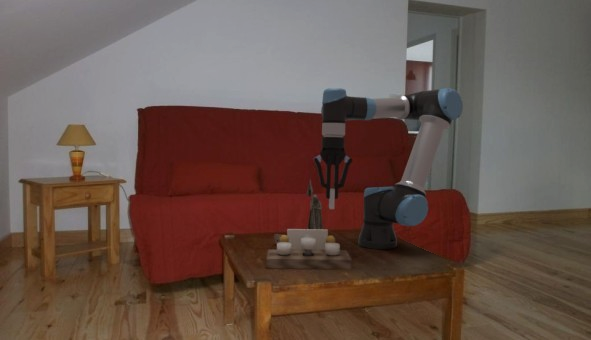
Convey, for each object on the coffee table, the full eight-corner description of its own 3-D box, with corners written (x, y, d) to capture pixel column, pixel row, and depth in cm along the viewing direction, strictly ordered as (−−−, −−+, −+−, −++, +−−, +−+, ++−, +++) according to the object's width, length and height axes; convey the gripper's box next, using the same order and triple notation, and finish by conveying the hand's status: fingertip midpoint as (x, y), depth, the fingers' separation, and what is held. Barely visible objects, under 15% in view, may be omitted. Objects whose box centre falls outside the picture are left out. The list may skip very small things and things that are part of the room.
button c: (291, 259, 144) (291, 242, 143) (291, 263, 139) (291, 245, 139) (276, 259, 144) (277, 242, 143) (276, 263, 139) (276, 245, 138)
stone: (284, 251, 158) (285, 237, 157) (272, 244, 168) (272, 231, 167) (305, 248, 162) (306, 236, 161) (292, 242, 172) (292, 230, 171)
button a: (338, 259, 144) (338, 242, 144) (340, 264, 139) (340, 246, 139) (324, 259, 144) (324, 242, 144) (325, 263, 139) (325, 246, 139)
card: (334, 258, 149) (335, 229, 148) (334, 258, 147) (335, 230, 147) (279, 257, 148) (279, 228, 147) (279, 258, 147) (279, 229, 146)
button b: (314, 254, 144) (315, 237, 143) (315, 258, 139) (316, 240, 139) (300, 254, 144) (300, 237, 143) (301, 258, 139) (301, 240, 138)
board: (345, 258, 148) (346, 250, 148) (351, 269, 136) (351, 259, 136) (268, 258, 147) (268, 249, 147) (266, 268, 135) (266, 258, 135)
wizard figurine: (302, 241, 173) (303, 179, 172) (298, 236, 182) (299, 178, 180) (327, 240, 175) (328, 179, 174) (322, 235, 184) (323, 178, 182)
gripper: (351, 137, 143) (349, 207, 144) (312, 136, 142) (311, 206, 144) (355, 136, 135) (353, 210, 137) (314, 136, 135) (312, 210, 136)
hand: (331, 208), depth 140 cm, fingers closed
